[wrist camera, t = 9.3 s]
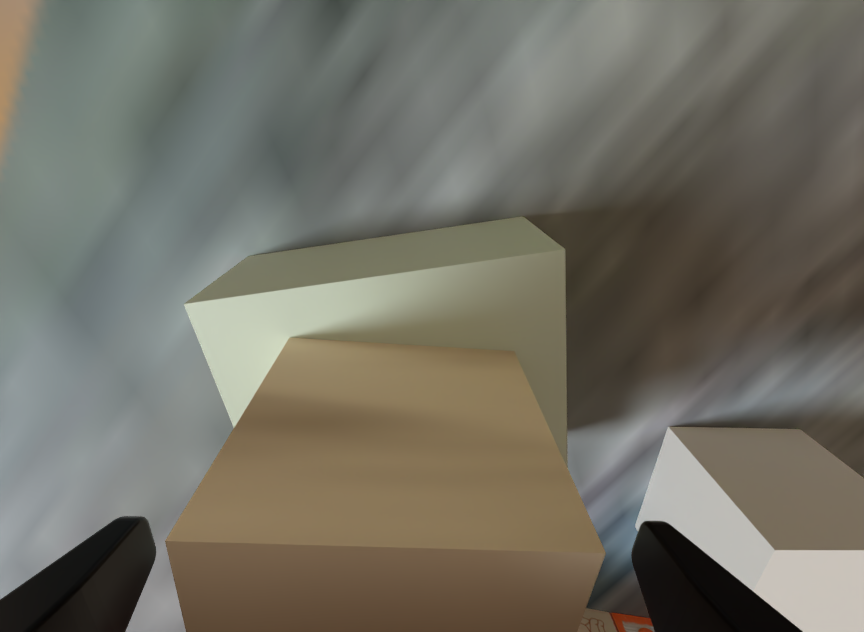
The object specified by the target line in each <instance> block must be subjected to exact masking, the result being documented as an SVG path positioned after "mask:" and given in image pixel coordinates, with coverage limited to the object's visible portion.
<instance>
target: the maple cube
mask: <svg viewBox="0 0 864 632" xmlns="http://www.w3.org/2000/svg"><path fill="white" fill-rule="evenodd" d="M165 542H166V547H167V551H168V555H169V560H170V564H171V568H172V573H173V577H174V581H175V586H176V590H177V594H178V598H179V603H180V607H181V611H182V616H183V620H184V624H185V629H186V632H577V631H578V629H579V626H580V623H581V620H582V618H583V615H584V612H585V609H586V606H587V604H588V601H589V598H590V595H591V593H592V590H593V587H594V584H595V582H596V579H597V576H598V573H599V571H600V568H601V565H602V562H603V560H604V557H605V554H606V552H605V550H604V548H603V546H602V544H601V541H600V539H599V537H598V535H597V533H596V530H595V528H594V526H593V524H592V522H591V519H590V517H589V515H588V513H587V511H586V508H585V506H584V504H583V502H582V500H581V497H580V495H579V493H578V491H577V488H576V486H575V484H574V482H573V480H572V477H571V475H570V473H569V471H568V469H567V466H566V464H565V462H564V460H563V458H562V455H561V453H560V451H559V449H558V447H557V444H556V442H555V440H554V438H553V435H552V433H551V431H550V429H549V427H548V424H547V422H546V420H545V418H544V416H543V413H542V411H541V409H540V407H539V405H538V402H537V400H536V398H535V396H534V394H533V391H532V389H531V387H530V385H529V383H528V380H527V378H526V376H525V374H524V371H523V369H522V367H521V365H520V363H519V360H518V358H517V356H516V354H515V352H514V351H503V350H487V349H471V348H454V347H438V346H421V345H405V344H388V343H372V342H355V341H339V340H322V339H306V338H290V337H289V339H288V341H287V342H286V344H285V346H284V347H283V349H282V350H281V352H280V354H279V355H278V357H277V359H276V360H275V362H274V364H273V365H272V367H271V368H270V370H269V372H268V373H267V375H266V377H265V378H264V380H263V382H262V383H261V385H260V387H259V388H258V390H257V391H256V393H255V395H254V396H253V398H252V400H251V401H250V403H249V405H248V406H247V408H246V409H245V411H244V413H243V414H242V416H241V418H240V419H239V421H238V423H237V424H236V426H235V427H234V429H233V431H232V432H231V434H230V436H229V437H228V439H227V441H226V442H225V444H224V445H223V447H222V449H221V450H220V452H219V454H218V455H217V457H216V459H215V460H214V462H213V464H212V465H211V467H210V468H209V470H208V472H207V473H206V475H205V477H204V478H203V480H202V482H201V483H200V485H199V486H198V488H197V490H196V491H195V493H194V495H193V496H192V498H191V500H190V501H189V503H188V504H187V506H186V508H185V509H184V511H183V513H182V514H181V516H180V518H179V519H178V521H177V522H176V524H175V526H174V527H173V529H172V531H171V532H170V534H169V536H168V537H167V539H166V541H165Z"/></svg>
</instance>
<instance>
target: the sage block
mask: <svg viewBox="0 0 864 632" xmlns="http://www.w3.org/2000/svg"><path fill="white" fill-rule="evenodd" d="M184 306H185V308H186V311H187V313H188V316H189V318H190V321H191V323H192V326H193V328H194V330H195V333H196V335H197V338H198V340H199V343H200V345H201V348H202V350H203V353H204V355H205V358H206V360H207V362H208V365H209V367H210V370H211V372H212V375H213V377H214V380H215V382H216V385H217V387H218V390H219V392H220V394H221V397H222V399H223V402H224V404H225V407H226V409H227V412H228V414H229V417H230V419H231V422H232V424H233V427H235V426H236V424H237V423H238V421H239V419H240V418H241V416H242V414H243V413H244V411H245V409H246V408H247V406H248V405H249V403H250V401H251V400H252V398H253V396H254V395H255V393H256V391H257V390H258V388H259V387H260V385H261V383H262V382H263V380H264V378H265V377H266V375H267V373H268V372H269V370H270V368H271V367H272V365H273V364H274V362H275V360H276V359H277V357H278V355H279V354H280V352H281V350H282V349H283V347H284V346H285V344H286V342H287V341H288V339H289V337H290V338H306V339H322V340H339V341H355V342H372V343H388V344H405V345H421V346H438V347H454V348H471V349H487V350H503V351H514V352H515V354H516V356H517V358H518V360H519V363H520V365H521V367H522V369H523V371H524V374H525V376H526V378H527V380H528V383H529V385H530V387H531V389H532V391H533V394H534V396H535V398H536V400H537V402H538V405H539V407H540V409H541V411H542V413H543V416H544V418H545V420H546V422H547V424H548V427H549V429H550V431H551V433H552V435H553V438H554V440H555V442H556V444H557V447H558V449H559V451H560V453H561V455H562V458H563V460H564V462H565V464H566V466H567V373H566V274H565V249H564V248H563V247H562V246H560V245H559V244H558V243H557V242H555V241H554V240H553V239H551V238H550V237H549V236H548V235H546V234H545V233H544V232H542V231H541V230H540V229H539V228H537V227H536V226H535V225H533V224H532V223H531V222H530V221H528V220H527V219H526V218H524V217H523V216H522V217H515V218H508V219H501V220H495V221H488V222H481V223H474V224H467V225H460V226H453V227H446V228H440V229H433V230H426V231H419V232H412V233H405V234H398V235H391V236H385V237H378V238H371V239H364V240H357V241H350V242H343V243H336V244H330V245H323V246H316V247H309V248H302V249H295V250H288V251H281V252H274V253H268V254H261V255H254V256H248V257H246V258H245V259H244V260H242V261H241V262H240V263H238V264H237V265H236V266H234V267H233V268H232V269H230V270H229V271H228V272H226V273H225V274H224V275H222V276H221V277H220V278H218V279H217V280H216V281H214V282H213V283H211V284H210V285H209V286H207V287H206V288H205V289H203V290H202V291H201V292H199V293H198V294H197V295H195V296H194V297H193V298H191V299H190V300H189V301H187V302H186V303H185V304H184Z"/></svg>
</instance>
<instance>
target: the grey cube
mask: <svg viewBox="0 0 864 632" xmlns="http://www.w3.org/2000/svg"><path fill="white" fill-rule="evenodd" d="M644 521H664V522H667V523H669V524H670V525H672V526H673V527H674V528H675V529H676V530H678V531H679V532H680V533H681V534H683V535H684V536H685V537H686V538H688V539H689V540H690V541H691V542H693V543H694V544H695V545H696V546H698V547H699V548H700V549H701V550H702V551H704V552H705V553H706V554H707V555H709V556H710V557H711V558H712V559H714V560H715V561H716V562H717V563H719V564H720V565H721V566H722V567H724V568H725V569H726V570H727V571H729V572H730V573H731V574H732V575H733V576H735V577H736V578H737V579H738V580H740V581H741V582H742V583H743V584H745V585H746V586H747V587H748V588H750V589H751V590H752V591H753V592H755V593H756V594H757V595H758V596H760V597H761V598H762V599H763V600H764V601H766V602H767V603H768V604H769V605H771V606H772V607H773V608H774V609H776V610H777V611H778V612H779V613H781V614H782V615H783V616H784V617H786V618H787V619H788V620H789V621H791V622H792V623H793V624H794V625H795V626H797V627H798V628H799V629H800V630H802V631H803V632H864V478H863V477H862V476H860V475H859V474H858V473H857V472H855V471H854V470H853V469H851V468H850V467H849V466H847V465H846V464H845V463H844V462H842V461H841V460H840V459H838V458H837V457H836V456H834V455H833V454H832V453H831V452H829V451H828V450H827V449H825V448H824V447H823V446H821V445H820V444H819V443H818V442H816V441H815V440H814V439H812V438H811V437H810V436H808V435H807V434H806V433H804V432H803V431H802V430H801V429H767V428H713V427H668V429H667V432H666V435H665V438H664V441H663V444H662V447H661V450H660V453H659V456H658V459H657V462H656V465H655V468H654V471H653V474H652V477H651V480H650V483H649V486H648V489H647V492H646V495H645V498H644V501H643V504H642V507H641V510H640V513H639V516H638V519H637V522H636V525H635V527H636V529H637V531H639V528H640V525H641V524H642V523H643V522H644Z"/></svg>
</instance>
